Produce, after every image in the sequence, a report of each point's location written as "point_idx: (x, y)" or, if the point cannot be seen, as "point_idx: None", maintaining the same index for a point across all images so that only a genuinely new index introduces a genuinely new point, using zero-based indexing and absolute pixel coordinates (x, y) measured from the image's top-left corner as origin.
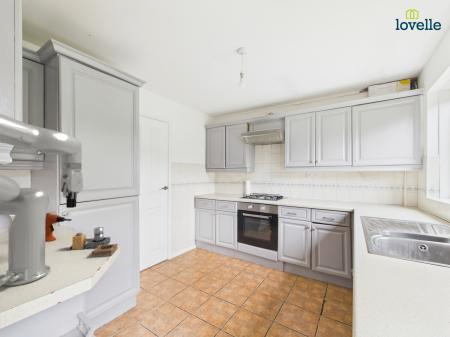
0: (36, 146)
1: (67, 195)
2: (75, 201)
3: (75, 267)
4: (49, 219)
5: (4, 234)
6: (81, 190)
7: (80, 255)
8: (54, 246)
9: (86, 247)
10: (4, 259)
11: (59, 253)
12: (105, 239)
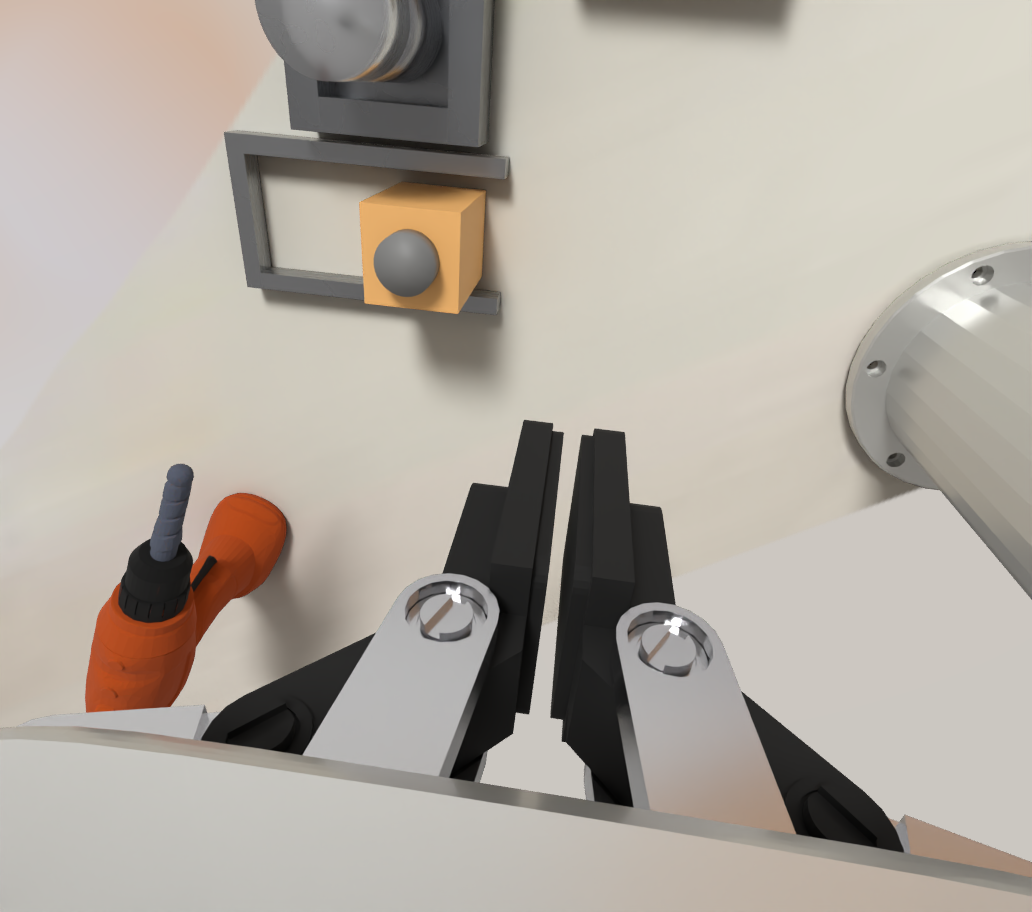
0: None
1: (989, 854)
2: (535, 508)
3: (1010, 44)
4: (181, 661)
5: None
6: (64, 730)
7: (674, 127)
8: (374, 449)
9: (485, 141)
10: None
11: (553, 347)
12: None
